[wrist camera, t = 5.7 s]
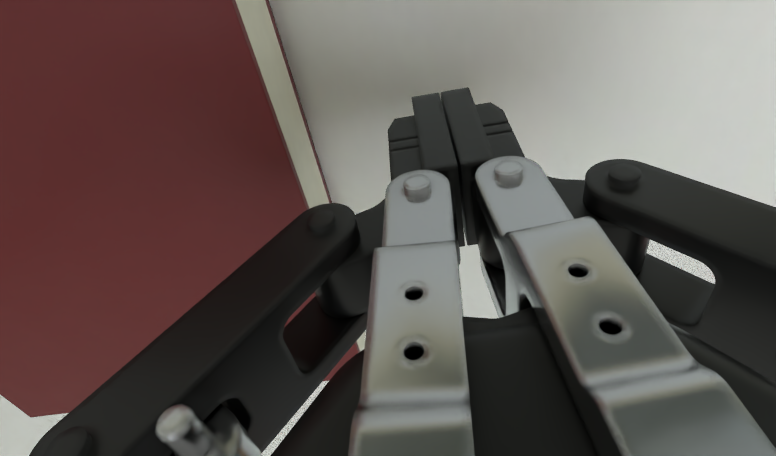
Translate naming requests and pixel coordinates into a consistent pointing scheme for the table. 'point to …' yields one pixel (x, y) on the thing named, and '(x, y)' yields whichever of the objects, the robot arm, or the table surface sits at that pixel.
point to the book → (135, 177)
